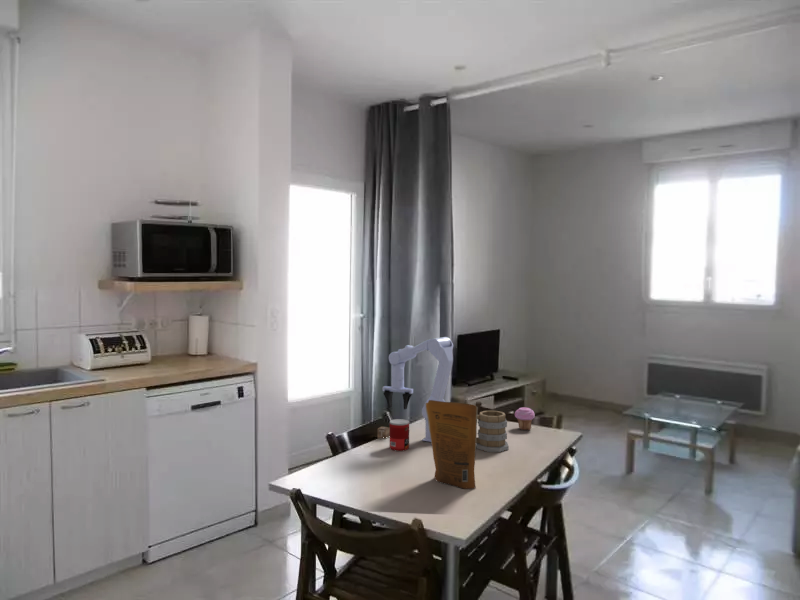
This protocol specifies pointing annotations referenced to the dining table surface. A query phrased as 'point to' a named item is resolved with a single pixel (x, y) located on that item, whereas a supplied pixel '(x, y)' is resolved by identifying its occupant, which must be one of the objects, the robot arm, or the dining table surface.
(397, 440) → the canned food
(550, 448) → the dining table surface
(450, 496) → the dining table surface
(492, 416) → the tankard
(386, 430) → the letter cube
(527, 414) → the cupcake
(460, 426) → the pancake mix bag
